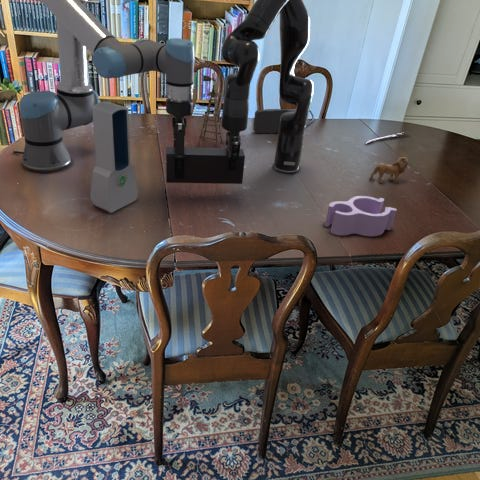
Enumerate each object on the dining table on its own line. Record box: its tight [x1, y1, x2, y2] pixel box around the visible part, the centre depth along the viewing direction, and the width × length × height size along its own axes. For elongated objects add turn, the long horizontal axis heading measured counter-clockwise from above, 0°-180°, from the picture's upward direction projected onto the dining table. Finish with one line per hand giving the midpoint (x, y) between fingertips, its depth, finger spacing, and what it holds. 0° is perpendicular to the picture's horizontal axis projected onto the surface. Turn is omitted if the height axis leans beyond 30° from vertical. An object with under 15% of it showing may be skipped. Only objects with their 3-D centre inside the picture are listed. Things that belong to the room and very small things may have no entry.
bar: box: [165, 146, 246, 185], centre depth 143 cm, size 23×5×9 cm, turn 98°
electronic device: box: [89, 101, 139, 214], centre depth 133 cm, size 12×8×30 cm, turn 148°
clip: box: [324, 195, 398, 237], centre depth 141 cm, size 20×12×7 cm, turn 109°
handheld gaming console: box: [252, 108, 297, 134], centre depth 205 cm, size 23×3×10 cm, turn 108°
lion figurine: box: [368, 156, 409, 184], centre depth 171 cm, size 15×5×9 cm, turn 110°
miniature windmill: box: [197, 67, 224, 148], centre depth 180 cm, size 9×8×30 cm
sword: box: [365, 132, 410, 145], centre depth 213 cm, size 31×3×1 cm, turn 126°
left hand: (178, 168), depth 142 cm, fingers open, 13 cm apart
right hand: (230, 165), depth 144 cm, fingers closed on bar, 5 cm apart
